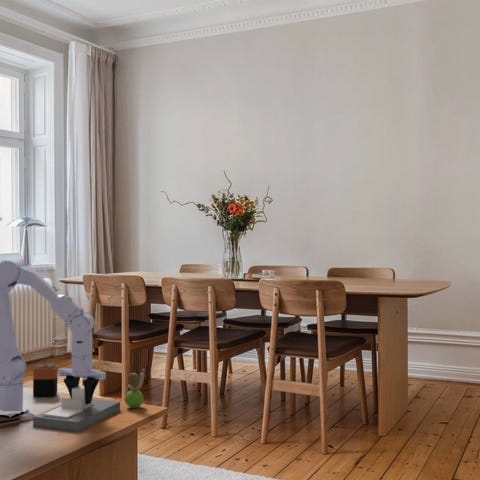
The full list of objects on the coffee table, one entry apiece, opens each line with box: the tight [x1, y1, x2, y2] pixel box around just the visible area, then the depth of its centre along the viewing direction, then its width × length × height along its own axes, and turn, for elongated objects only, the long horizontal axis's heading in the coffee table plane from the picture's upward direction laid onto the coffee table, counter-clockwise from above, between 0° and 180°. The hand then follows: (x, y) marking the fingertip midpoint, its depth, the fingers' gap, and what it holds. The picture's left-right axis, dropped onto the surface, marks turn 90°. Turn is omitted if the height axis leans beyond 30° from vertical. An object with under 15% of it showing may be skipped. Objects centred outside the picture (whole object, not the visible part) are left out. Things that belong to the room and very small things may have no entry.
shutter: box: [43, 397, 83, 419], centre depth 174 cm, size 8×9×3 cm
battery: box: [32, 363, 58, 398], centre depth 204 cm, size 4×7×10 cm, turn 93°
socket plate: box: [32, 398, 121, 432], centre depth 179 cm, size 14×22×2 cm, turn 161°
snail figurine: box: [124, 368, 146, 409], centre depth 190 cm, size 5×6×12 cm
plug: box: [72, 385, 92, 409], centre depth 182 cm, size 4×4×7 cm
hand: (81, 402), depth 182 cm, fingers closed on plug, 4 cm apart
